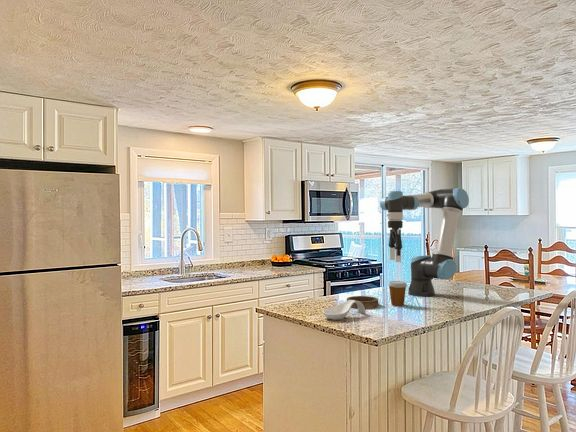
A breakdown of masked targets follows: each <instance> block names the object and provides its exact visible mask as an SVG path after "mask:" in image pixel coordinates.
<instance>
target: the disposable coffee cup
mask: <svg viewBox="0 0 576 432" xmlns="http://www.w3.org/2000/svg"><path fill="white" fill-rule="evenodd" d="M387 285H388V288H389V296H390V303H391V306H393V307H404V306H405V300H406V299H405V298H406V289H407V286H408V285H407V282H405V281H400V280H391V281H389V282H388V284H387Z"/></svg>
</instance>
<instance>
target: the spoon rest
mask: <svg viewBox="0 0 576 432" xmlns="http://www.w3.org/2000/svg"><path fill="white" fill-rule="evenodd" d="M353 303H356V304H357V306H358V308H357V313H359V314H363V315H364V314H366V309H365V308H364V306H363V304H362V303H361V302H359V301H355V300H348V301H347V300H346V301H344V302H342V303H341V302H340V303H339V304H337V305H333V306H331V307H328V308H326V309H323V310H322V314H323V315H324V317H326V318H327V319H329V320H333V321H341V320H344V319H345V318H346V317H347V316H348V313H349V312H350V310H351V309H352V308H351V306H352V304H353Z"/></svg>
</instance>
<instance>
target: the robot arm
mask: <svg viewBox="0 0 576 432" xmlns="http://www.w3.org/2000/svg"><path fill="white" fill-rule="evenodd" d="M469 202H470V199H469V195H468V192H467V191H466V190H465V188H462V187H460V188H459V187H455V188H442V189H437V190H432V191H426V192H423V193H420V194H418V193H417V194H410V195H404V194H403V191H400V190H390V191H389V192H388V193H387V196H386V197H385V196H384V197H382V198H381V199H380V201H379V206H380V209H381V210H383V211H387V214H386V216H387V220H388V221H387V227H388V229H389V237H388V239H389V240H388V247H389V261H395V263H402V249H403V244H402V242H403V241H402V233H401V231H402V230H401V229H402V228H403V225H404V224H403V219H404V218H403V217H404V214H403V213H404V212H403V211H405V210H406V211H409V210H410V211H413V210H417V209H418V208H423V207H424V208H426V209H431V208H432V209H441V211H442V212H443V213H442V217H441V218H442V219H441V224H440V229H439V234H438V238H437V245H436V248H435V249H436V250H435V252H433V253H432V254H431V255H430V254H427V255H416V256H415V255H414V256H412V257H411V258H410V278H411V279H410V280H411V281H410V283H409V287H408V290H407V292H408V294H407V295H410V296H414V295H415V297H432V295H433V296H435V295H436V291H435V287H434V285H433V282H432V279H437V280H443V281H445V280H450V279H452V278H453V277H454V276H455V275H456V272H457V262H456V261H455V260H454V259H455V258H454V256H453V254H452V253H453V248H454V242H455V237H456V232H457V228H458V222H459V217H460V215H461V214H462V213H463V209H466V208H467V207H468V205H469Z"/></svg>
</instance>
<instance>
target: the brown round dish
mask: <svg viewBox="0 0 576 432" xmlns="http://www.w3.org/2000/svg"><path fill="white" fill-rule="evenodd" d="M348 300H355V301H359V302H361V303H362V304H363V306H364V308H365V310H366V309H367V310H368V309H369V310H371V309H376V308H379V307H380V303H379V298H378V297H376V296H375V297H374V296H370V295H356V296H349V297H347V298H346V301H348ZM350 309H358V306H357V304H356V303H353V304H352V306H351V308H350Z"/></svg>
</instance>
